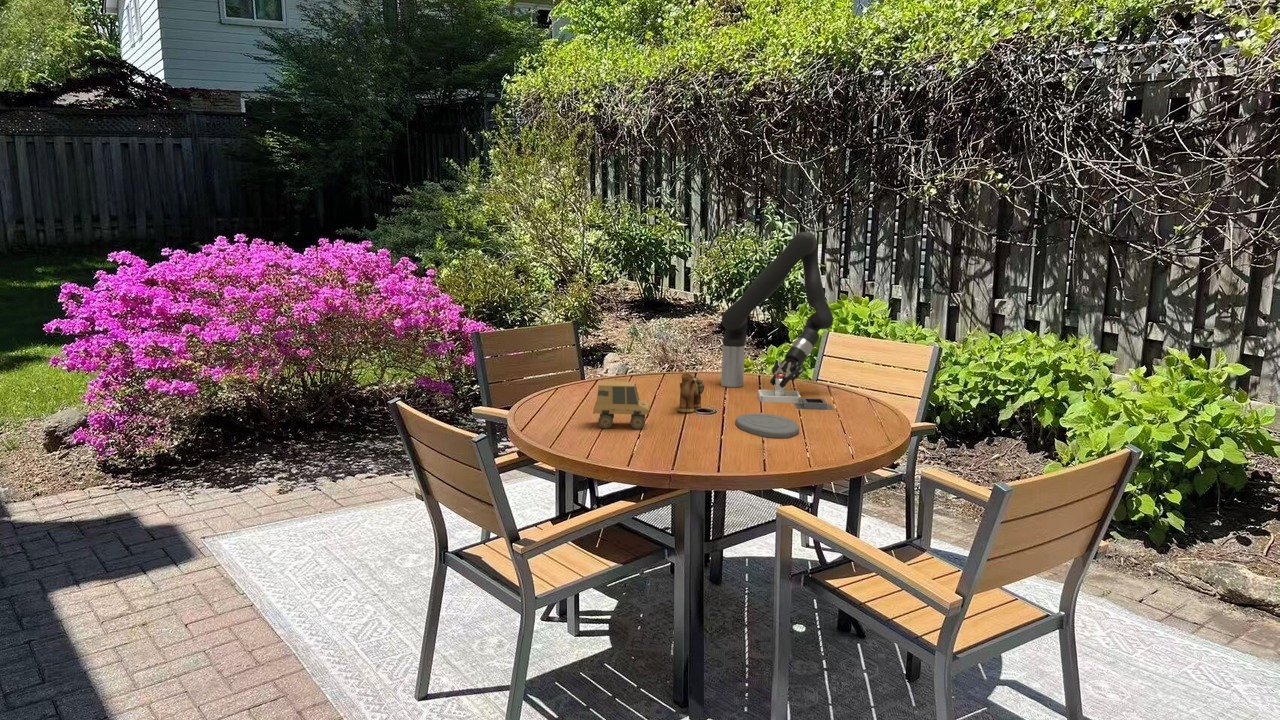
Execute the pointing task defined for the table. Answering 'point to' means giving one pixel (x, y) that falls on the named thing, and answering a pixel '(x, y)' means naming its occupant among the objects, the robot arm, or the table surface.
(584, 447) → the table surface
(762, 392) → the tray
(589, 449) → the table surface
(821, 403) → the hitch
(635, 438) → the table surface
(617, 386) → the toy car
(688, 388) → the figurine
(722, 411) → the table surface
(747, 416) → the frisbee
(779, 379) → the pin
